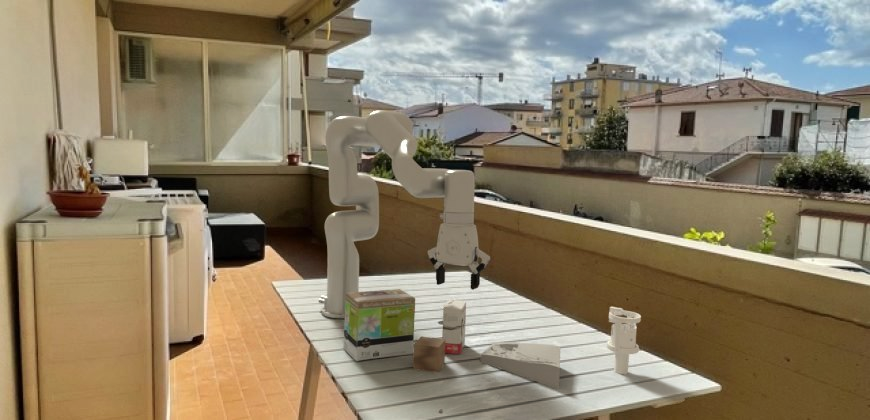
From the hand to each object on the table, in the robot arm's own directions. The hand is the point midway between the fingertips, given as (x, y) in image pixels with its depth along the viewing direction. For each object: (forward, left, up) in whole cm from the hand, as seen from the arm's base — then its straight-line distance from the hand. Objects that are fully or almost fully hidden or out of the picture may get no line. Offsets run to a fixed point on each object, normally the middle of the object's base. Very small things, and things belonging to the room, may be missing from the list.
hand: (457, 286), depth 141 cm
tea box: (-15, -13, -17) cm, 26 cm away
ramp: (+19, -1, -17) cm, 26 cm away
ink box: (-1, 0, -17) cm, 17 cm away
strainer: (+39, +9, -17) cm, 44 cm away
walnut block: (0, -14, -17) cm, 22 cm away
